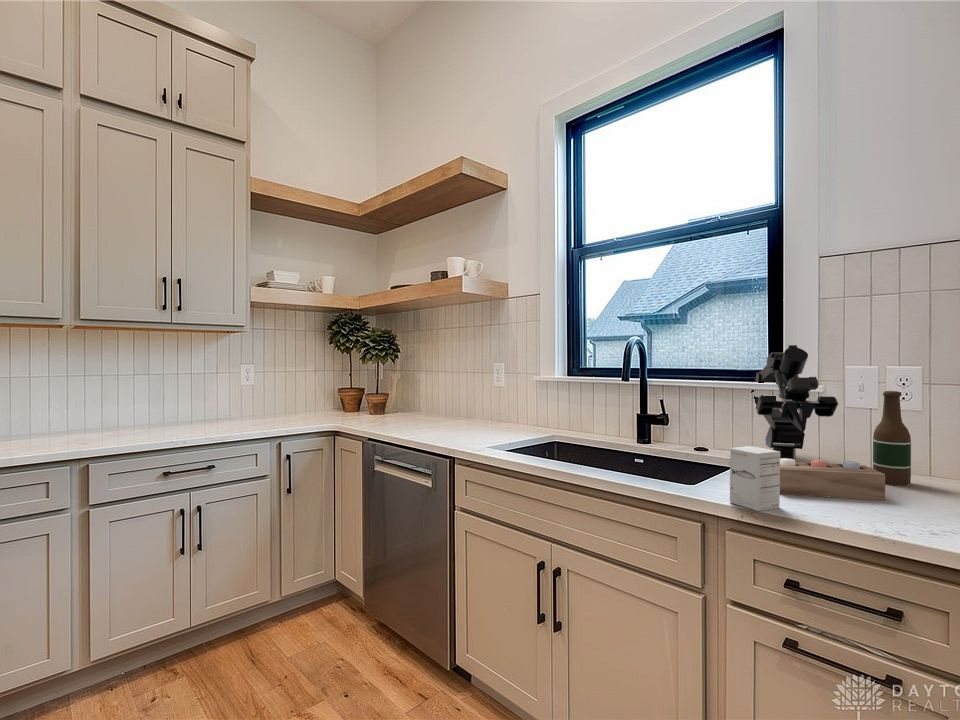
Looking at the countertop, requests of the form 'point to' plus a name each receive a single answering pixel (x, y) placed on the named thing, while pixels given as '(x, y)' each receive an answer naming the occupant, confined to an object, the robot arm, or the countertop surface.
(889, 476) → the beer bottle
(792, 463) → the white key
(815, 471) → the wooden socket block
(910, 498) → the countertop surface
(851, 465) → the grey rounded block
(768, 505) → the supplement box
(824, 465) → the brick key
